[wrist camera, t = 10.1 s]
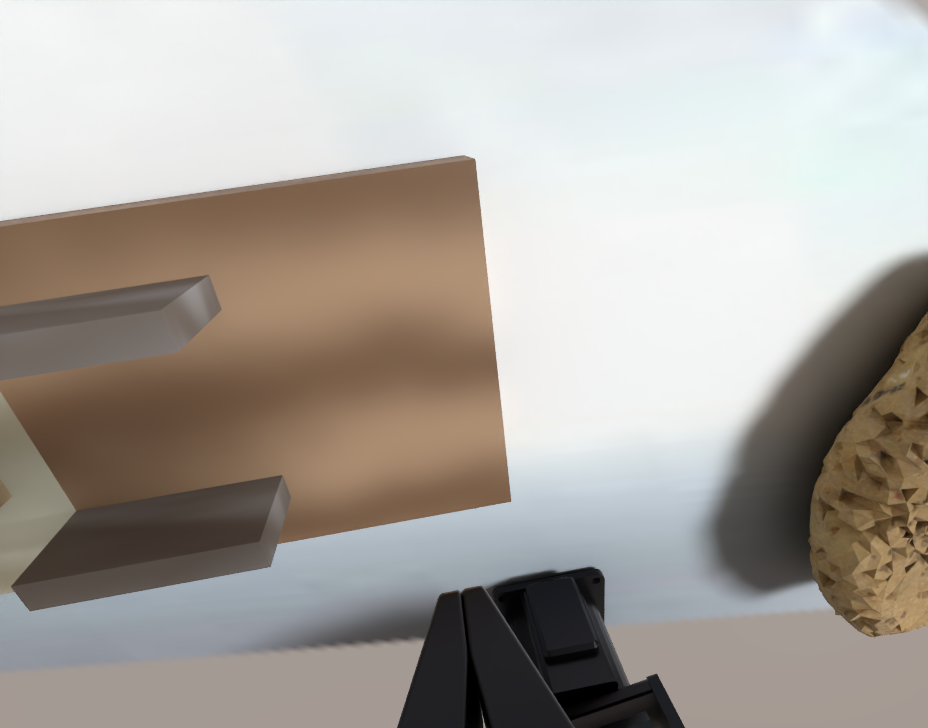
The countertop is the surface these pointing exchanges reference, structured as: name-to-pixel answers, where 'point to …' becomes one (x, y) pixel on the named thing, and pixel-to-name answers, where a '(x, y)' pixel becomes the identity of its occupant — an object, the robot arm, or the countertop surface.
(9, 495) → the maple block
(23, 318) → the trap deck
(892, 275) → the countertop surface
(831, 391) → the countertop surface
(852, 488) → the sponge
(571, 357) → the countertop surface
